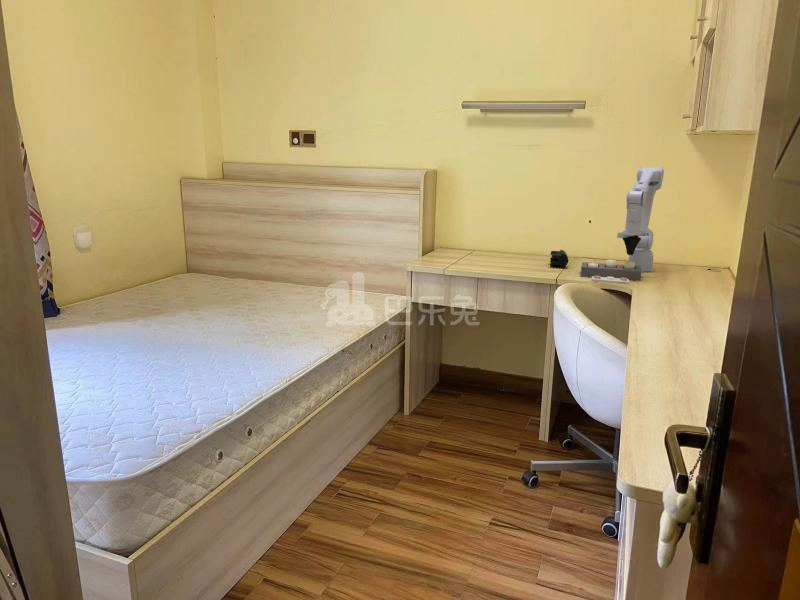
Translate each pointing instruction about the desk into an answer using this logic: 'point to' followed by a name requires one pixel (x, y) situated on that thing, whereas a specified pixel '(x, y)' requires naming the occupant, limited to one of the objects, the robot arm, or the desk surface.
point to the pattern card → (610, 279)
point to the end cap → (558, 259)
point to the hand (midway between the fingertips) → (629, 254)
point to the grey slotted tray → (611, 271)
